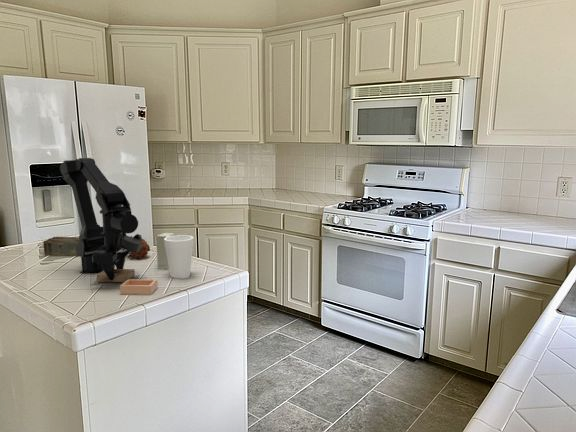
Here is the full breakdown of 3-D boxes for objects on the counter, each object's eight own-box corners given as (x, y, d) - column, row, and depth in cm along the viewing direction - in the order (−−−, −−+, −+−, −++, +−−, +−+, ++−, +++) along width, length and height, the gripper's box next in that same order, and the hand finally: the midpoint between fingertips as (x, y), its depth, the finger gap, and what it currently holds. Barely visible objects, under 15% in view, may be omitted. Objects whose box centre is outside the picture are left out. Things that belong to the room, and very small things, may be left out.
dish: (120, 295, 125) (119, 285, 125) (128, 288, 131) (127, 279, 131) (151, 296, 125) (150, 286, 125) (157, 289, 131) (157, 279, 131)
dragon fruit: (146, 264, 163) (127, 264, 170) (159, 247, 168) (140, 248, 175) (132, 249, 158) (113, 249, 165) (146, 232, 163) (127, 233, 170)
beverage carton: (91, 257, 167) (90, 240, 166) (43, 256, 168) (41, 240, 167) (101, 252, 175) (99, 236, 174) (54, 251, 176) (53, 235, 175)
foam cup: (167, 282, 138) (166, 242, 136) (163, 273, 146) (162, 236, 144) (197, 278, 142) (196, 239, 139) (191, 270, 150) (190, 234, 148)
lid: (97, 281, 135) (96, 272, 134) (105, 275, 141) (105, 266, 141) (127, 282, 135) (126, 272, 134) (134, 275, 141) (134, 266, 141)
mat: (90, 286, 133) (90, 285, 133) (104, 276, 143) (104, 275, 143) (129, 286, 133) (129, 285, 133) (140, 276, 143) (140, 275, 143)
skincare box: (168, 271, 149) (167, 236, 147) (157, 270, 150) (155, 236, 148) (177, 266, 156) (175, 232, 154) (165, 265, 156) (164, 232, 154)
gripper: (127, 235, 126) (130, 286, 129) (148, 223, 144) (150, 268, 147) (89, 235, 126) (93, 286, 129) (115, 223, 145) (118, 268, 147)
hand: (116, 276), depth 138 cm, fingers closed on lid, 6 cm apart
